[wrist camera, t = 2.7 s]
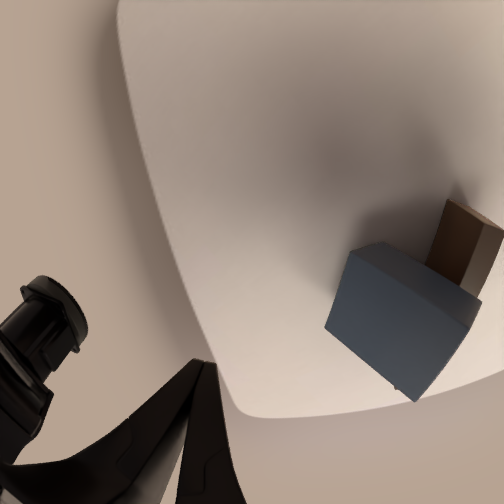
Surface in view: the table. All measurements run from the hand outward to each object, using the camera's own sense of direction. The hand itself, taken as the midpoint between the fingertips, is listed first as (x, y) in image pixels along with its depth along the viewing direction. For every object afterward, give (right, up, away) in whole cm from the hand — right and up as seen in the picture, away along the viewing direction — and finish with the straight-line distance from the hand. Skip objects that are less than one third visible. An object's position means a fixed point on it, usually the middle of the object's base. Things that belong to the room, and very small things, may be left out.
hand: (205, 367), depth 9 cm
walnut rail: (+13, +2, +7) cm, 15 cm away
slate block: (+9, +1, +4) cm, 10 cm away
